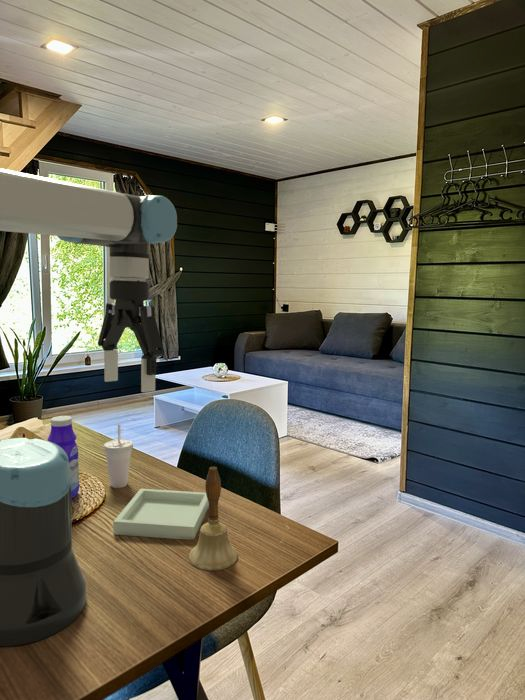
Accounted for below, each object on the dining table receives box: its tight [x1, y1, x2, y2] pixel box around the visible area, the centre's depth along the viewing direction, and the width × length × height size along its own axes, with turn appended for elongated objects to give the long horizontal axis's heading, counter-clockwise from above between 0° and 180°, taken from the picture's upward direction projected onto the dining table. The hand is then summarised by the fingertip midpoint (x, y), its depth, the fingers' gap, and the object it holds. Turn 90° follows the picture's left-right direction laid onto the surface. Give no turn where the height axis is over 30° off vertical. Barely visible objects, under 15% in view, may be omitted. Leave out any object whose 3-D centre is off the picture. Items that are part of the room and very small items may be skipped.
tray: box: [113, 488, 209, 541], centre depth 99 cm, size 15×15×2 cm
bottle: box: [47, 415, 80, 500], centre depth 107 cm, size 7×6×17 cm
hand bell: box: [188, 466, 239, 572], centre depth 85 cm, size 8×8×16 cm
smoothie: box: [103, 423, 134, 489], centre depth 114 cm, size 6×6×14 cm
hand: (128, 386), depth 102 cm, fingers open, 13 cm apart
